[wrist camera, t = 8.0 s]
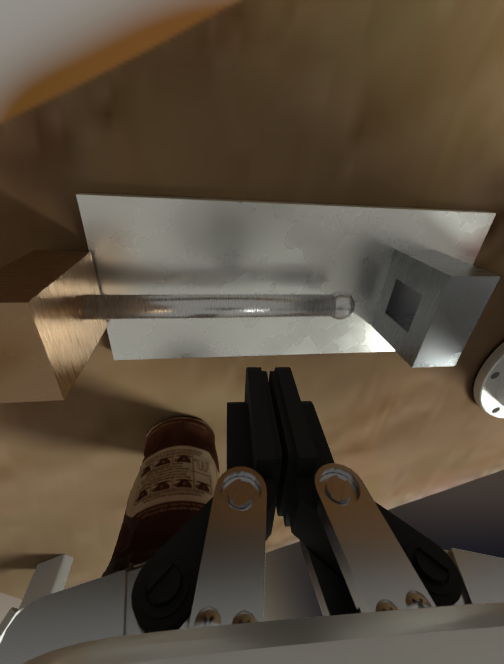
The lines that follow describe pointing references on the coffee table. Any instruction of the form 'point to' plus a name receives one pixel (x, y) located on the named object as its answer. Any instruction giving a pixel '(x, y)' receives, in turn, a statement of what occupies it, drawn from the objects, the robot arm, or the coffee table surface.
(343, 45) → the coffee table surface
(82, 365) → the brown block with rod
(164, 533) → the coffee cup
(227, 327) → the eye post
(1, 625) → the lighter
